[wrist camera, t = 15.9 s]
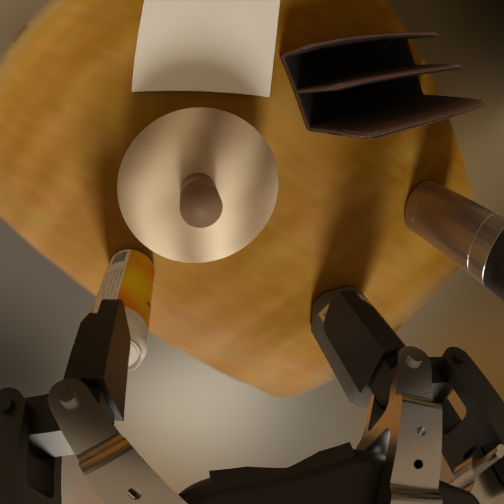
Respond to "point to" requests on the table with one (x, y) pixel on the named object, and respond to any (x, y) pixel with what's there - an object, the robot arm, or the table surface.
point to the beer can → (131, 296)
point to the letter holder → (367, 86)
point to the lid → (197, 185)
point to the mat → (206, 46)
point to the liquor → (336, 364)
